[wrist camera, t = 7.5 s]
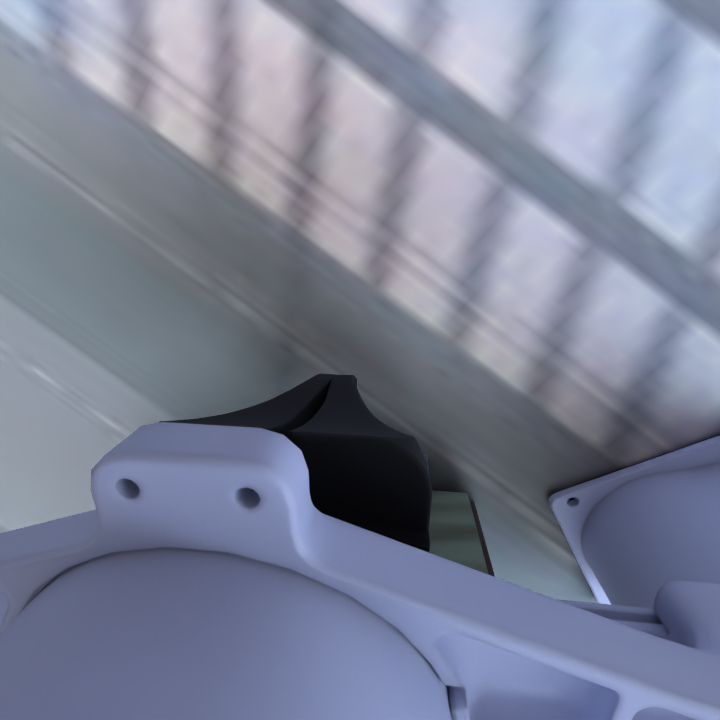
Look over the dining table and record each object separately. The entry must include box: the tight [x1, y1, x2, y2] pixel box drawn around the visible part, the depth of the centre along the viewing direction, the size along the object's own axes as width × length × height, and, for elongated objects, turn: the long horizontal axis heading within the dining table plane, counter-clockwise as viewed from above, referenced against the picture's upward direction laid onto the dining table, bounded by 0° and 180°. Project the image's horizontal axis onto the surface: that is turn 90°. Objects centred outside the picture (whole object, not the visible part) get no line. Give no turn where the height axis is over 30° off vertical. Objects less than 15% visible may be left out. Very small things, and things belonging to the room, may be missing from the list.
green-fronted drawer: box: [422, 453, 489, 575], centre depth 16 cm, size 17×11×7 cm
